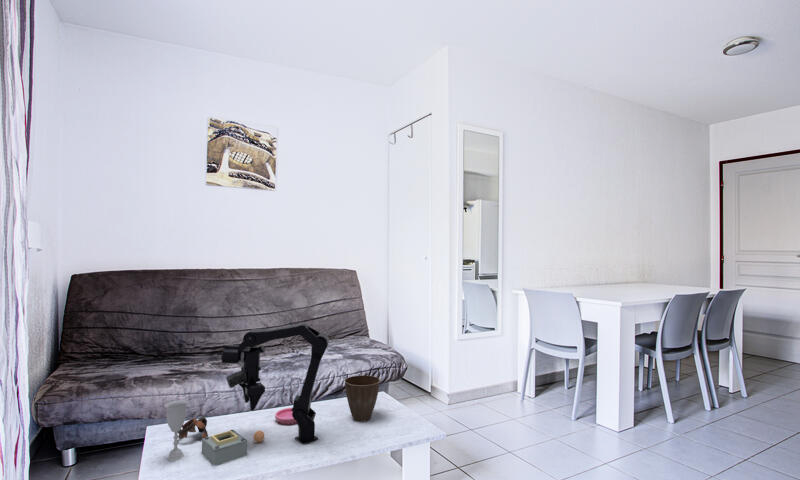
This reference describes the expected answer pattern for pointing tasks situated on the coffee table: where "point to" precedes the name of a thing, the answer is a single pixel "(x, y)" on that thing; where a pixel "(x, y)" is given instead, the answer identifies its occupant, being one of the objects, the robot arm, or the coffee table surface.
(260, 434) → the bead
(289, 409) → the saucer
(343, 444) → the coffee table surface
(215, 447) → the grey box with opening
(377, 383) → the plant pot
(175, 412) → the chalice
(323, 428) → the coffee table surface
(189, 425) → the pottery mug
